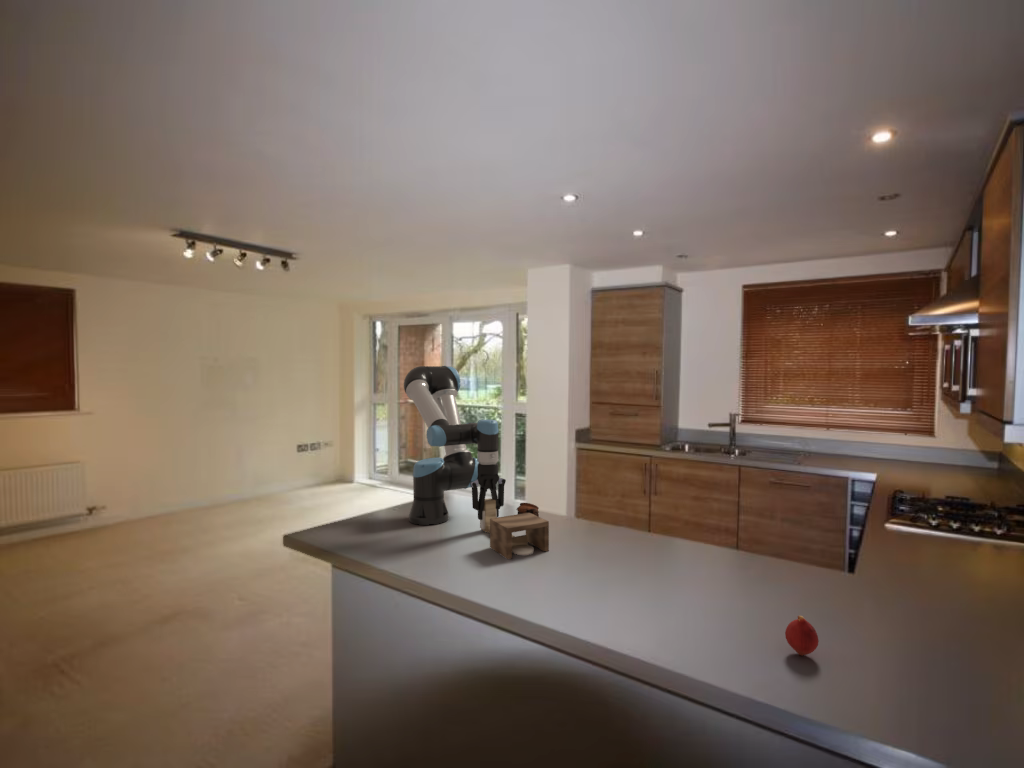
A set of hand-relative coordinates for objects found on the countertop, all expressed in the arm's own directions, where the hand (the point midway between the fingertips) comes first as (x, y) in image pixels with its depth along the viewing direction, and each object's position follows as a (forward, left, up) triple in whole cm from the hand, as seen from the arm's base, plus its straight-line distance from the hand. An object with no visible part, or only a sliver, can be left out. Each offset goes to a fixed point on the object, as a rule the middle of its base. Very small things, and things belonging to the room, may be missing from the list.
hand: (488, 527), depth 187 cm
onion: (+104, +19, -1) cm, 106 cm away
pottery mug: (-2, +18, -2) cm, 18 cm away
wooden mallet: (+9, 0, -1) cm, 10 cm away
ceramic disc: (+24, 0, -2) cm, 25 cm away
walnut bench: (+22, 0, -1) cm, 22 cm away
